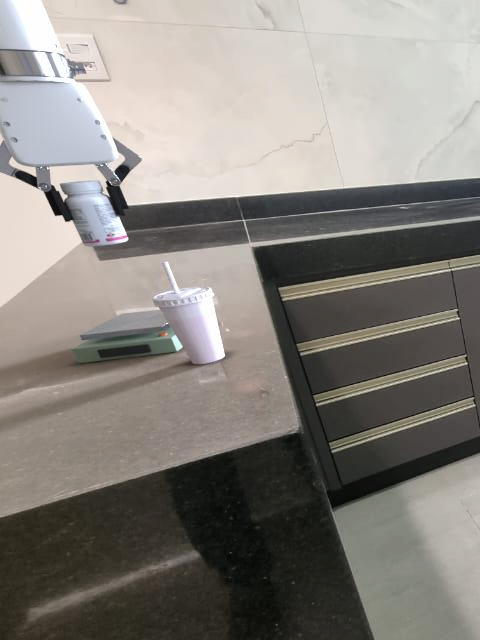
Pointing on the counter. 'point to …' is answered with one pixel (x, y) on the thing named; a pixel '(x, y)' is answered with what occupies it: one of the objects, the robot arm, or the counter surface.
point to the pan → (129, 325)
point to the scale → (127, 346)
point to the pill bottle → (93, 214)
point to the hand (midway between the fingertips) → (95, 216)
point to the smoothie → (192, 320)
